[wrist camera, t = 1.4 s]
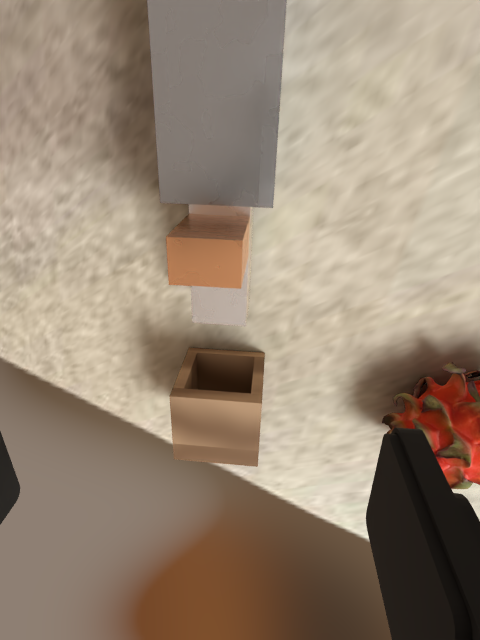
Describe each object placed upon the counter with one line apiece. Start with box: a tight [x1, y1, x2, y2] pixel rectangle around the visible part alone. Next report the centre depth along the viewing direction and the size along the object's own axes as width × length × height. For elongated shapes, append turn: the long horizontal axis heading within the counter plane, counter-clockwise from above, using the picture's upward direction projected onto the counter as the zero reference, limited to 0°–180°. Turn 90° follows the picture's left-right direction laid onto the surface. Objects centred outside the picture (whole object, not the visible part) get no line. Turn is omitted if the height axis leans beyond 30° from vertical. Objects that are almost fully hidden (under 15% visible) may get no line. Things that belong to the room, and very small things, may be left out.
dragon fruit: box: [382, 362, 480, 489], centre depth 30 cm, size 8×8×12 cm
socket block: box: [170, 348, 265, 467], centre depth 31 cm, size 6×6×7 cm
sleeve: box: [147, 0, 286, 208], centre depth 20 cm, size 15×6×6 cm, turn 178°
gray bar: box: [166, 204, 253, 326], centre depth 20 cm, size 21×4×9 cm, turn 178°
